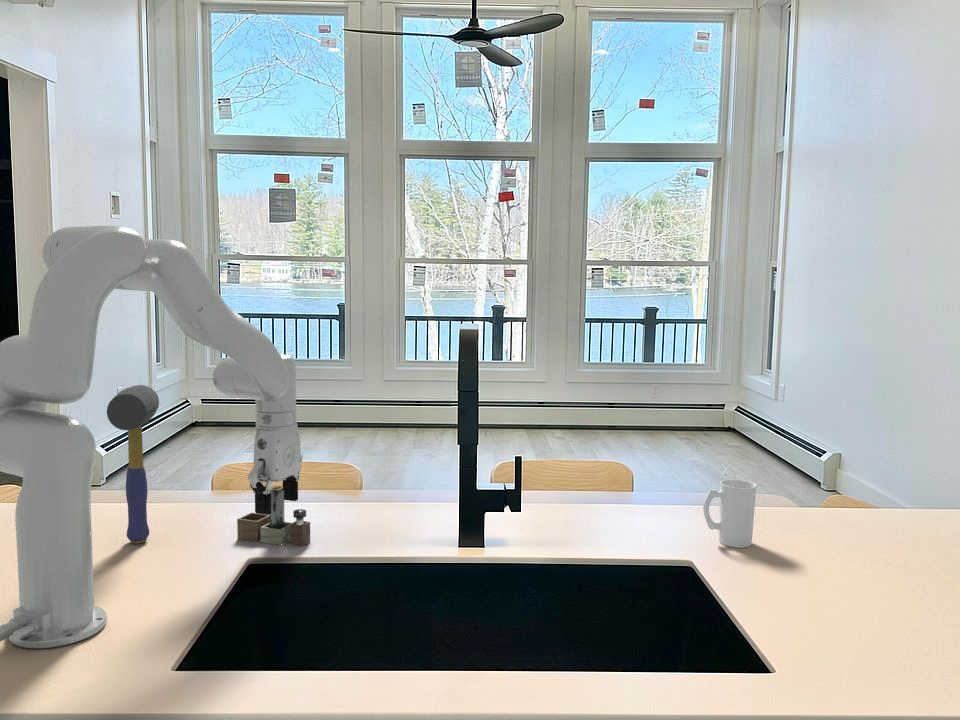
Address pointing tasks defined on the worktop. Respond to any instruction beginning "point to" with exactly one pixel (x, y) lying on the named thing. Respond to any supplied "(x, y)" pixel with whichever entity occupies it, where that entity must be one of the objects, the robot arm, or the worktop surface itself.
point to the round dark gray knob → (299, 516)
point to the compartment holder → (271, 530)
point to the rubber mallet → (134, 451)
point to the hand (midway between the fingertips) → (277, 506)
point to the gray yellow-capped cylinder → (277, 507)
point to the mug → (733, 512)
